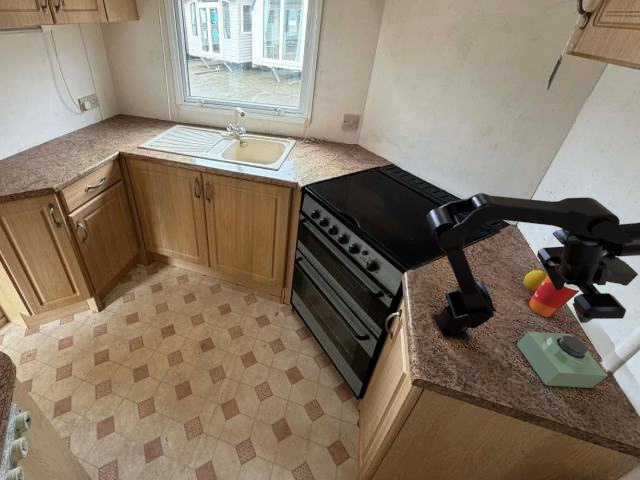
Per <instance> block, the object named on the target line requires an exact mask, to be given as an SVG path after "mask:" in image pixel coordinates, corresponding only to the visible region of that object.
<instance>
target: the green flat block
mask: <svg viewBox="0 0 640 480" xmlns="http://www.w3.org/2000/svg"><path fill="white" fill-rule="evenodd" d="M565 335H568V336H572V337H574V336H573V335H572V334H571V333H559V332H558V333H556V332H542V331H541V332H539V331H527V332H526V333H525V334H524V336H522V338H521V339H519V341H517V343H516V344H515V345H516V346H517V347H518V349H519V350H520V352H521V353H522V354H523V356H524V357H525V359H526V360H527V362H528V363H529V364H530V366H531V367H532V369H533V370H534V371H535V373H536V374H537V375H538V376H539V378H540V380H541V381H542V383H543V384H544V385H545V386H552V387H570V388H586V389H587V388H588V389H589V388H590V389H592V388H594V387H595V386H597V385H598V384H599V383H601V381H603V380H605V379H606V378H607V377H608V376H609V375H608V374H607V372H606V371H605V370H604V369H603V368H602V367H601V366H600V364H599V363H598V362H597V361H595V359H594V358H593V357H592V356H591V354H590V352H589V351H588V350H587V353H585V354H584V355H583V356H582V357H581V358H575V357H572V356H570V355H568V354H567V353H566V352H564V351H563V350H562V349H561V348H560V347H559V345H558V341H559V340H560V339H561V338H562V337H563V336H565Z"/></svg>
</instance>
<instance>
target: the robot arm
mask: <svg viewBox="0 0 640 480" xmlns="http://www.w3.org/2000/svg"><path fill="white" fill-rule="evenodd" d="M464 213H465V214H466V213H469V214H468V215H467V216H466V217H465V218H464V219H463V220H462V221H461V222H459V220H458V219H457V215H459V214H464ZM425 220H426V223H427V226H428V228H429V231H430V233H431V236H432V238H433V240H434V242H435V243H436V244H437V246H438V247H439V248H440V250H442V251H443V252H444V253H445V255H446V257H447V260H448V262H449V265H450V267H451V269H452V272H453V275H454V277H455V279H456V282H457V286H456V289H454V290H450V291H446V292H445V300H446V302H447V304H448V305H447V306H444V307H443V309H442V310H441V312H440V314H434V315H433V319H434V321H435V323H436V324H437V326H438V328H439V330H440V332H441V334H442V335H443V338H451V339H452V338H453V339H454V338H455V339H469V335H468V333H467V331H468V330H469V328H470V329H477V328H478V327H480V326H481V325H483V324H486V322H489V320H490V319H491V318H494V316H495V313H494V312H497V308H496V307H495V305H494V303H493V299H492V297H491V295H490V292H489V291H488V289H487V286H486V285H485V283H484V281H483V280H481V281H476V279H475V276H474V274H473V272H472V271H473V270H472V269H471V266H470V263H469V261H468V259H467V256H466V254H465V251H464V246H465V238H467V237H471V236H472V235H473V234H475V233H476V231H477V230H479V229H480V228H481V227H482V226H483V225H484V224H485V223H487V222H489V221H492V220H498V221H507V222H509V221H510V222H515V223H517V222H518V223H526V224H533V225H543V226H552V227H556V228H559V229H557V230H555V231H553V232H552V235H553V236H554V237H555V238H556V240H557V241H558V242H559V243H560V244H561V245H562V246H549V247H548V246H547V247H542V248H540V249H538V250H537V253H536V254H537V255H536V257H537V259H538V260H539V262H540V264H541V266H542V267H543V269H544V272H545V273H546V274H547V275H548V276H549V278H550V280H551V282H552V284H553V286H554V287H555V289H556V290H562V289H563V287H564V284H565V283H566V284H567V285H572V284H574V285H575V286H577V287H578V288H579V289H580V290H581V291H580V292H581V293H579V294H578V295H575V296H574V297H573V302H572V307H573V309H574V312H575V314H576V317H577V318H578V321H579V323H580V324H588V323H589V322H591V321H592V320H614V319H616V320H621V319H624V318H625V316H626V314H627V309H626V308H625V306H624V305H623V304H622V303H621V302H620V301H619V300H618V299H617V297H615V296H614V295H613V294H611V293H609V292H604V293H603V292H600V290H598V288H597V287H596V286H595V284H596V285H597V286H606V285H607V283H611V284H618V285H622V286H625V287H626V286H629V285H630V284H631V283H632V282H633V280H634V279H636V278H637V276H639V274H638V272H637V271H636V270H635V269H634V268H632V266H630V265H629V263H628V262H626V261H624V260H622V259H621V258H622V257H636V256H637V257H638V256H640V221H639V222H631V223H620V218H619V216H617V215H616V214H615V213H614V212H612V211H611V209H610V210H609V208H607V207H606V206H605V205H603V204H602V203H601V202H600V201H598V200H597V199H595V198H593V197H587V196H586V197H584V196H583V197H566V198H562V199H560V200H556V201H555V200H552V201H551V200H540V199H539V200H538V199H531V198H520V197H510V196H501V195H490V194H487V193H484V192H480V193H476V194H474V195H472V196H470V197H467V198H464V199H458V200H452V201H449V202H447V203H445V204H443V205H441V206H439V207H435V208H434V209H432V210H430V211H429V212H428V213H427V214H426V216H425ZM619 257H621V258H619Z"/></svg>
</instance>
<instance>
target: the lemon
mask: <svg viewBox="0 0 640 480" xmlns="http://www.w3.org/2000/svg"><path fill="white" fill-rule="evenodd" d="M546 277H547V273H546V271H543V270H540V269H539V270H538V269H536V270H531V271H530V272H528V273H527V274H526V275H525V276H524V278H523V284H524V286H525V287H526V289H527V290H528V291H530V292H534V293H535V292H536V291H537V290H538V288H539V287H540V285H541V284H542V282H543V281H544V280H545V278H546Z"/></svg>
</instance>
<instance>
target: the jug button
mask: <svg viewBox="0 0 640 480" xmlns="http://www.w3.org/2000/svg"><path fill="white" fill-rule="evenodd" d="M572 336H573V335H572ZM572 336H568V335H565V336H563V337H562V338H561V339H560V340H559V341H558V345H559V347H560V348H561V349H562V350H563V351H564V352H566V353H567V354H568V355H570V356H572V357H575V358H581V357H582V356H583V355H584V354H585V353H587V351H588V348H587V346H586V345H585V344H584V343H583V342H582V341H581V340H579V339H578V338H576V337H574V336H573V337H572Z"/></svg>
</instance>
